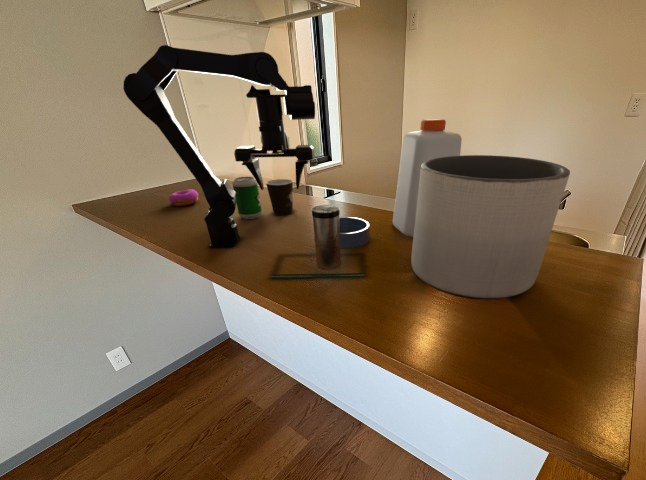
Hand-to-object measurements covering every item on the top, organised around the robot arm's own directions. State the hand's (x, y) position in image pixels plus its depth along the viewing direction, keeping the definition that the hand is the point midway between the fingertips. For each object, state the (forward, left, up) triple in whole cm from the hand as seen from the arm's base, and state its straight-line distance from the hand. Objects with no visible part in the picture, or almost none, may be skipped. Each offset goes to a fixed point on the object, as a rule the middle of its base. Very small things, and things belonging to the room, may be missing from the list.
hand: (280, 189), depth 83 cm
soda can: (-15, +19, -13) cm, 28 cm away
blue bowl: (+16, -4, -13) cm, 21 cm away
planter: (+44, -24, -13) cm, 52 cm away
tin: (+13, -19, -13) cm, 27 cm away
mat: (+11, -19, -13) cm, 26 cm away
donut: (-44, +36, -13) cm, 58 cm away
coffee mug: (-4, +24, -13) cm, 28 cm away
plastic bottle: (+39, +4, -13) cm, 41 cm away
